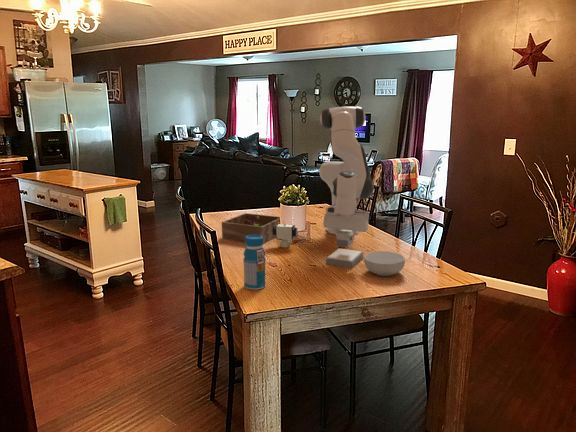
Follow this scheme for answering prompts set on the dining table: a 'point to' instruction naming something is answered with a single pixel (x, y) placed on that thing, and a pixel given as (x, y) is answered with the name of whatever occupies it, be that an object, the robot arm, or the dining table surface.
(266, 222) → the planter crate
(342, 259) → the plinth
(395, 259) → the cereal bowl
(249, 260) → the beverage bottle
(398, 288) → the dining table surface
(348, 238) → the block
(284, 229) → the pneumatic valve
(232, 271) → the dining table surface
